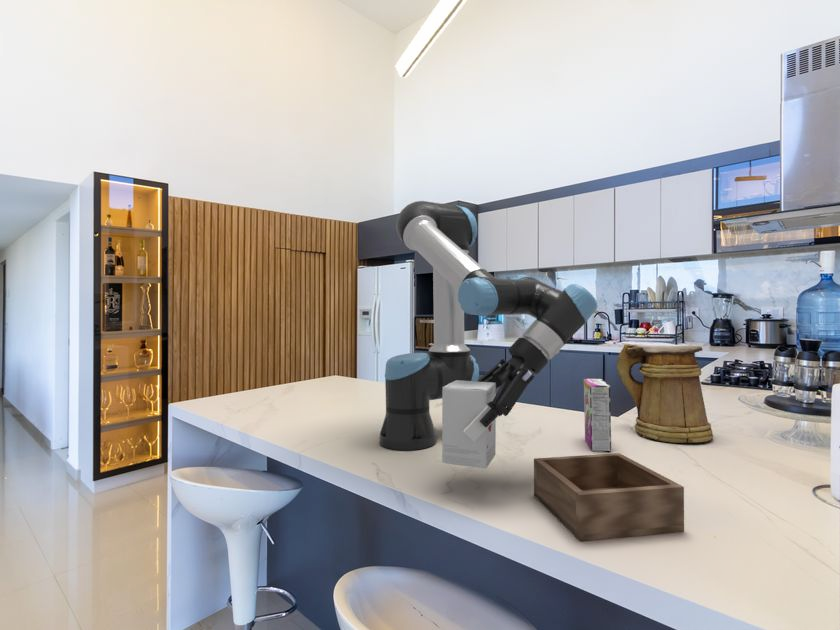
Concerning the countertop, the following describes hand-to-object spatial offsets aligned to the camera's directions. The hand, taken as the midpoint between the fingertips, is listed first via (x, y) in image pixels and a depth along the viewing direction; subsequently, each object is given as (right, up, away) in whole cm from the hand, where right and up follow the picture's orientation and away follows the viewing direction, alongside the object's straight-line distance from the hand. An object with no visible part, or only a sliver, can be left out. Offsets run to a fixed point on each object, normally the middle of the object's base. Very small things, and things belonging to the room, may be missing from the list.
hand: (460, 427), depth 91 cm
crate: (+23, -12, -12) cm, 29 cm away
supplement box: (+2, -7, 0) cm, 7 cm away
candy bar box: (+37, -11, +27) cm, 48 cm away
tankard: (+59, -11, +37) cm, 71 cm away
